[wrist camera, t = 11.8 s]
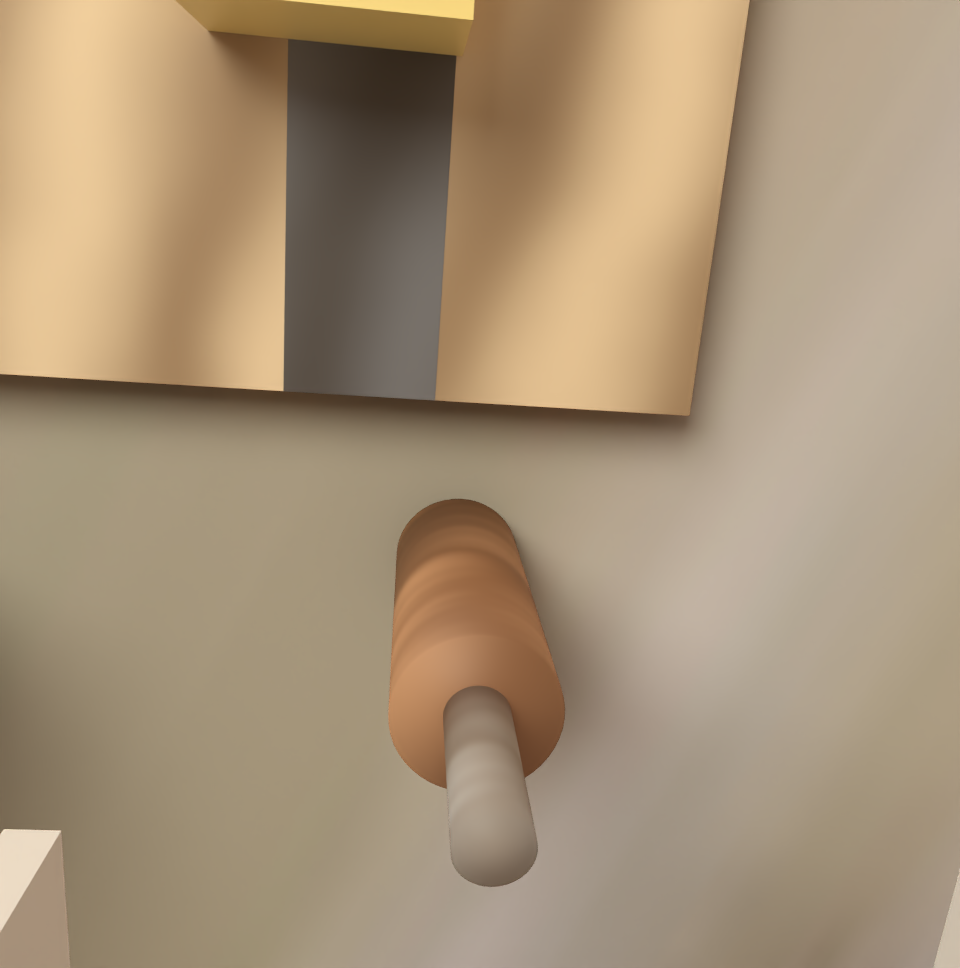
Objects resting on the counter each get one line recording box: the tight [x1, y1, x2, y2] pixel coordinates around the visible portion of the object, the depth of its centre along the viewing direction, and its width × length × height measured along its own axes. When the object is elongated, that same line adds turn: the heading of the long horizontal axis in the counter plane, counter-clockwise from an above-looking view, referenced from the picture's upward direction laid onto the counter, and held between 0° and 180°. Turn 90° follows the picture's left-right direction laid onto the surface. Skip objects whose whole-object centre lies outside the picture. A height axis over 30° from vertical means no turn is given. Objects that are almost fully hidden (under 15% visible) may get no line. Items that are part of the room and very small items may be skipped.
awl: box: [388, 499, 565, 887], centre depth 20 cm, size 4×4×13 cm
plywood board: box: [0, 0, 750, 416], centre depth 22 cm, size 26×15×2 cm, turn 86°
